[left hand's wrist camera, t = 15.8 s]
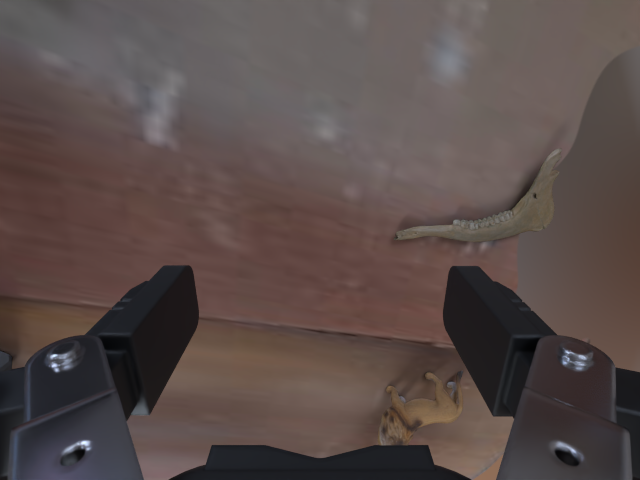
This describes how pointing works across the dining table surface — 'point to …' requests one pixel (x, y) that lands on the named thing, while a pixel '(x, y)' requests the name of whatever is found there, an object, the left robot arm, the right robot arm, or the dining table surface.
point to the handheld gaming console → (5, 362)
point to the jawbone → (502, 214)
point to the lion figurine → (419, 412)
